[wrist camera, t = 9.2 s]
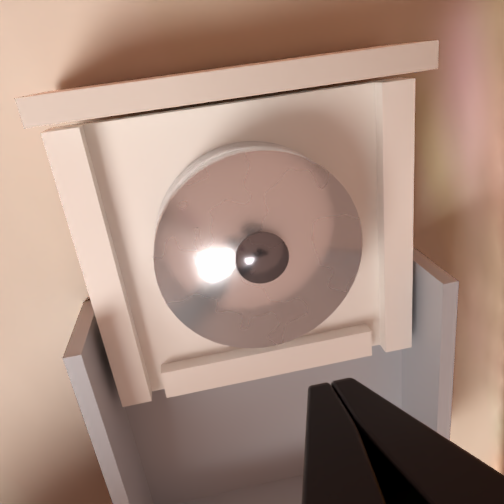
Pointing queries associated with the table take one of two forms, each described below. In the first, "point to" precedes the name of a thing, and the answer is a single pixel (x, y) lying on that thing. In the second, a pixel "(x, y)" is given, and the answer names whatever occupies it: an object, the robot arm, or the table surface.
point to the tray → (209, 138)
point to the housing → (252, 411)
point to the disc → (255, 245)
